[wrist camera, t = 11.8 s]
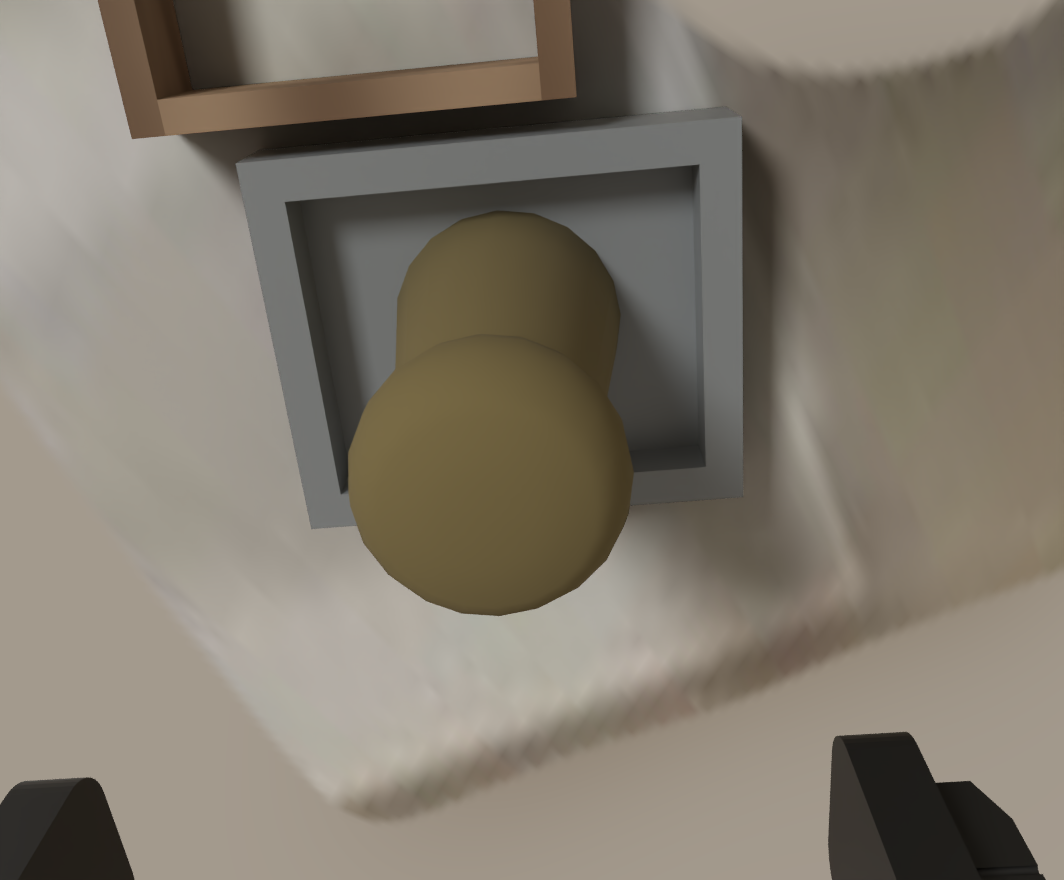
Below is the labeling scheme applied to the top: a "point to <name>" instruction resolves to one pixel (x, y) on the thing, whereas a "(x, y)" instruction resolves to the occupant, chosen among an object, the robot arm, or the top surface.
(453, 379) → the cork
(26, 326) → the top surface
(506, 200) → the tray
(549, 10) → the socket block
